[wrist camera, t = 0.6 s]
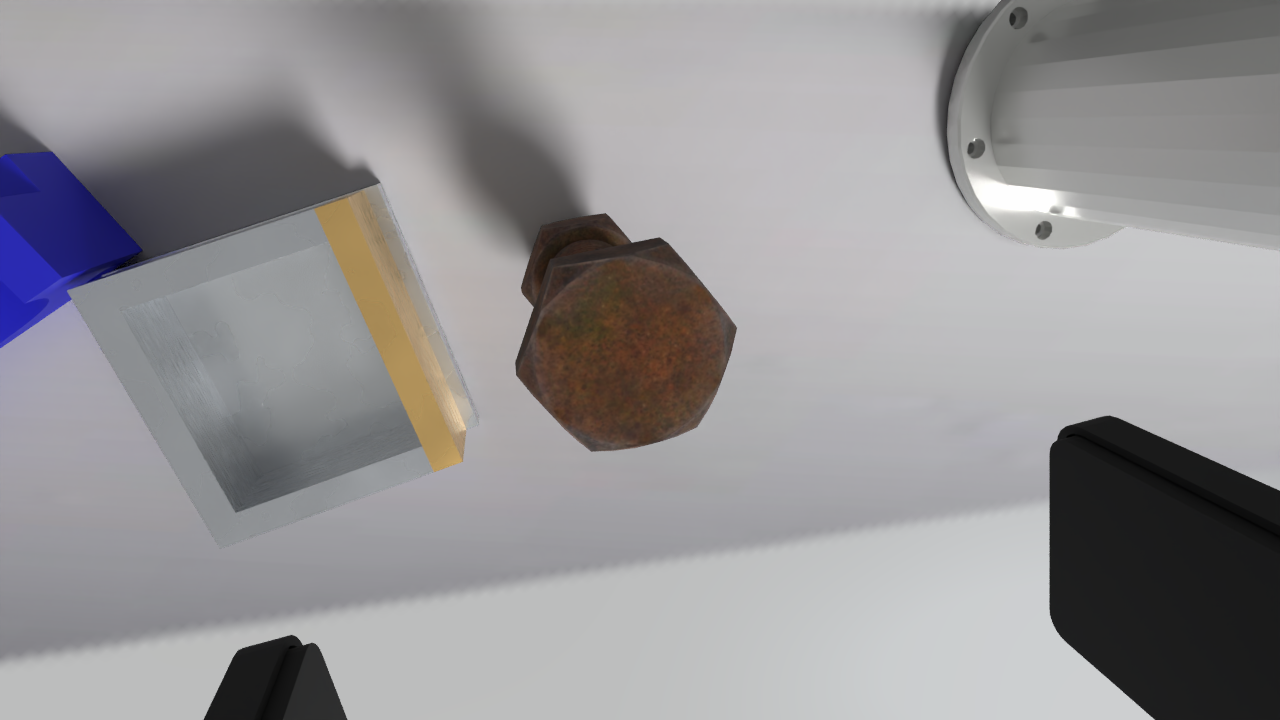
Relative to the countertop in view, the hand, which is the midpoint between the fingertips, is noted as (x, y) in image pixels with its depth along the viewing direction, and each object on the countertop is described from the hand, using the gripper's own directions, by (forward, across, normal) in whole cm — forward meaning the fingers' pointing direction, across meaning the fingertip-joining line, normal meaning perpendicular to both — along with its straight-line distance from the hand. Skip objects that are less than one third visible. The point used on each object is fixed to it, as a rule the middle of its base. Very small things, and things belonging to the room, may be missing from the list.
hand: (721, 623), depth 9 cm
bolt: (+25, -1, 0) cm, 25 cm away
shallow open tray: (+25, +11, +1) cm, 28 cm away
